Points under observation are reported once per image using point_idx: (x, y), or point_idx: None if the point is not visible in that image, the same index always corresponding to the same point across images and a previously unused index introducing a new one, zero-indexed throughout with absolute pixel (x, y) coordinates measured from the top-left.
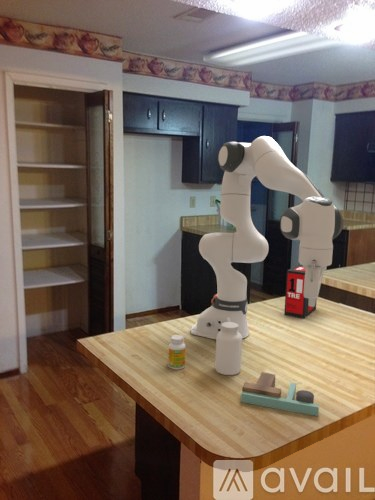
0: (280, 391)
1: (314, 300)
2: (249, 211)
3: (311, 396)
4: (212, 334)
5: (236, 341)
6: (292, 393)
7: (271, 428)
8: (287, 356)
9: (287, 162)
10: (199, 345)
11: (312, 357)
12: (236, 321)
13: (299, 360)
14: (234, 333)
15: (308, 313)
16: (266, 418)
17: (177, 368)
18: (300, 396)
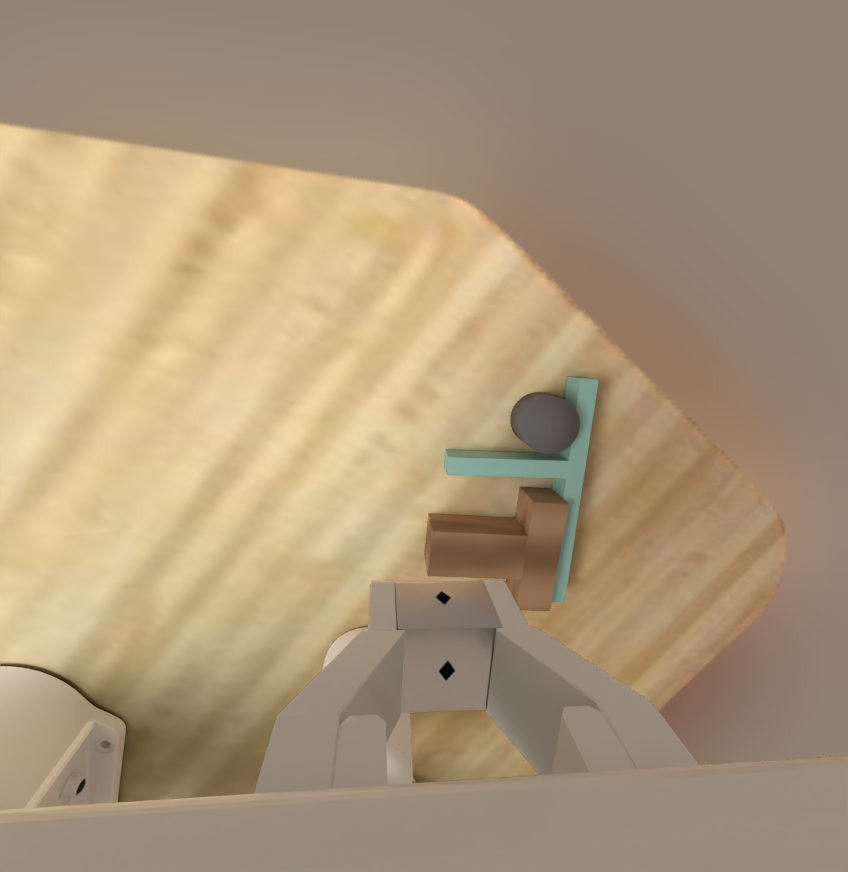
0: (551, 502)
1: (540, 642)
2: None
3: (561, 405)
4: (95, 782)
5: (396, 746)
6: (526, 463)
7: (667, 494)
8: (157, 497)
9: None
10: (203, 782)
11: (118, 400)
12: (2, 776)
13: (177, 450)
14: None
15: None
16: (622, 511)
17: (414, 781)
18: (568, 440)
